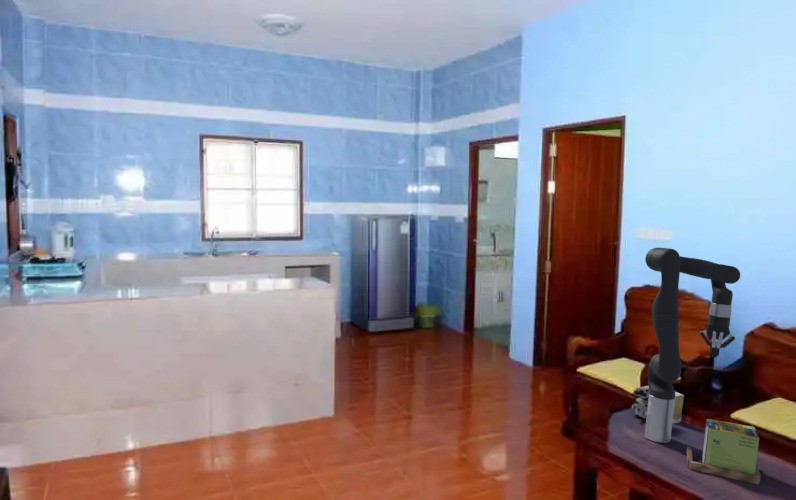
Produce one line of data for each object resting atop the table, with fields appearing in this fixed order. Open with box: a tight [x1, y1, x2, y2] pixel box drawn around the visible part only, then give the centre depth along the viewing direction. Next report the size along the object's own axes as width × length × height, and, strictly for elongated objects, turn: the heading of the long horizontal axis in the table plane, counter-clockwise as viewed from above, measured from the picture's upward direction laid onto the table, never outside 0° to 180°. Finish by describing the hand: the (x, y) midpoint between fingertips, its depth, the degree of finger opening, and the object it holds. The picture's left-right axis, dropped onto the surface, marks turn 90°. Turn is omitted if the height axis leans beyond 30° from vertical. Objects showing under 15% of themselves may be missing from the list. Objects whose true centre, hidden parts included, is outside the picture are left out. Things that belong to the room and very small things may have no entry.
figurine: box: [631, 384, 649, 419], centre depth 243 cm, size 9×12×15 cm
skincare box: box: [672, 391, 685, 424], centre depth 246 cm, size 6×4×12 cm
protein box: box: [701, 418, 760, 475], centre depth 202 cm, size 10×15×16 cm
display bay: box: [686, 446, 762, 485], centre depth 203 cm, size 22×14×2 cm, turn 65°
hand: (714, 356), depth 232 cm, fingers closed
